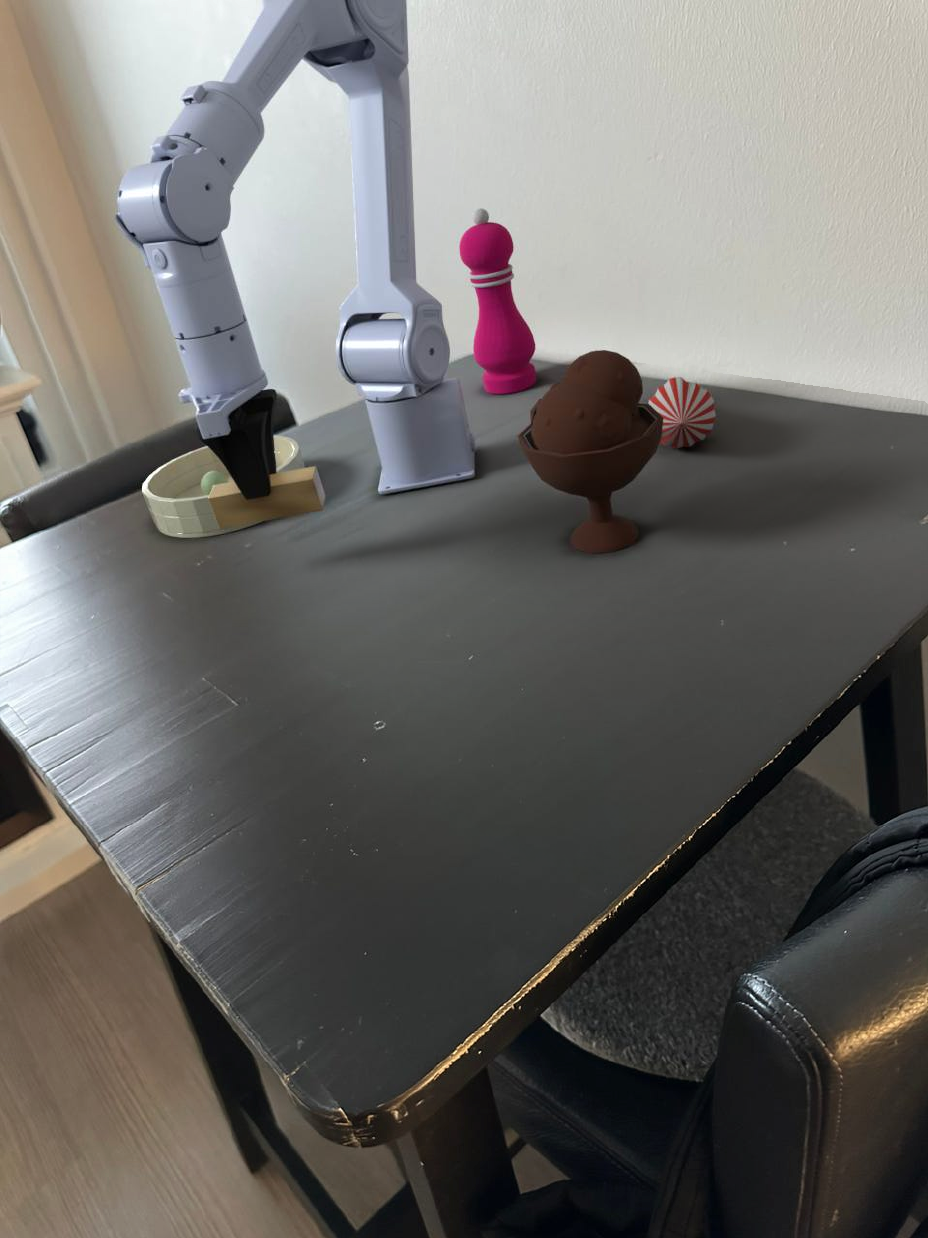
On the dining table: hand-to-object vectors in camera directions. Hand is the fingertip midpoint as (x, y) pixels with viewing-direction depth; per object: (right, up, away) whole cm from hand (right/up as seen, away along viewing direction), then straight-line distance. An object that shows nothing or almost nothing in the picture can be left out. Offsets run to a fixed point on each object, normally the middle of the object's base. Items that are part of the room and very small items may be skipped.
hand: (261, 489), depth 86 cm
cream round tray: (-7, +1, +21) cm, 22 cm away
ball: (-9, +3, +20) cm, 23 cm away
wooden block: (+1, -2, +1) cm, 2 cm away
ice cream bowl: (+28, -4, -3) cm, 29 cm away
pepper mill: (+22, +17, +36) cm, 46 cm away
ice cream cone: (+38, +7, +13) cm, 41 cm away
